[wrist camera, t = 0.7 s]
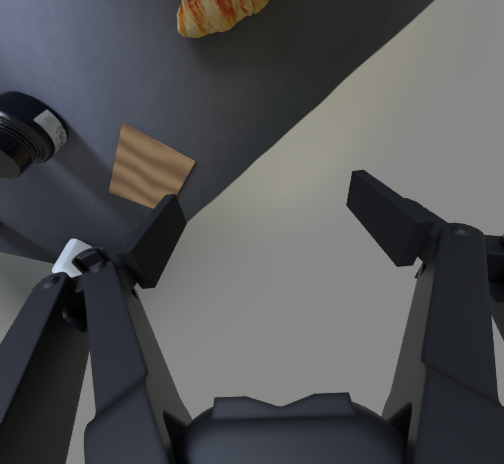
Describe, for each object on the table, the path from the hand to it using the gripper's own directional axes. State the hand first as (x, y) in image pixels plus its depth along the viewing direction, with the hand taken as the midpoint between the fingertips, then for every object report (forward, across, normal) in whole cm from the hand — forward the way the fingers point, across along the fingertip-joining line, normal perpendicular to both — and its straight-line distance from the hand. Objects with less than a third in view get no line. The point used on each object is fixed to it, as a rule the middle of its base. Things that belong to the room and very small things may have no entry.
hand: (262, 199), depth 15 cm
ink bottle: (+26, -38, +8) cm, 47 cm away
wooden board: (+31, -26, -6) cm, 41 cm away
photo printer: (+37, -62, -28) cm, 78 cm away
